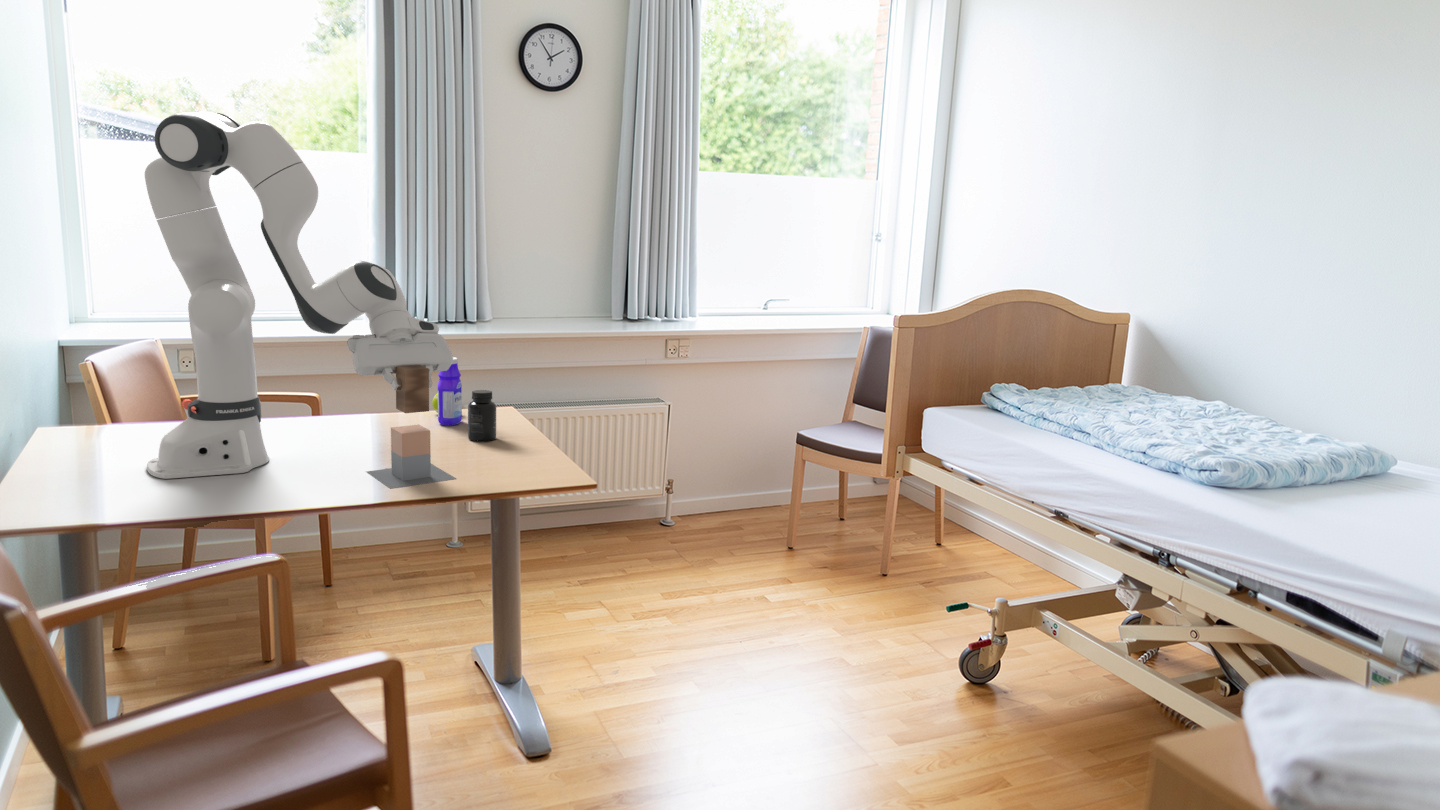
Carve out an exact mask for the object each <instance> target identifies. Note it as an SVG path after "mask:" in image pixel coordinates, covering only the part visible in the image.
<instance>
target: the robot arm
mask: <svg viewBox="0 0 1440 810" xmlns="http://www.w3.org/2000/svg"><path fill="white" fill-rule="evenodd" d="M154 144H155V148H156V150H157V153H158V154H159V155H160V157H158V158H156V159H154V160H153V161H152V162H150V163H149V164H148V165H147V167H146V168H145V170H144V180H145V185H146V186H145V187H146V191H147V195H148V198H149V201H150V202H149V203H150V206H151V209H152V211H153V214H154V217H155V219H156V222H157V225H158V227H159V230H160V232H161V235H162V237H163V239H164V242H165V244H166V248H167V250H168V252H169V255H170V257H171V260H172V261H173V262H174V264H175V266H176V267H177V269H178V271H179V273H180V275H181V277H182V279H183V281H184V282H185V284H186V286H187V288H188V291H189V293H190V297H189V300H188V305H187V306H188V307H187V310H188V318H189V319H188V320H189V328H190V333H191V334H190V335H191V341H192V348H193V352H194V360H195V370H196V372H195V373H196V383H197V384H196V385H197V398H195V399H194V400H193V401H192V400H191V399H189V398H186V399H183V400H182V402H181V407H183V408H184V410H187V416H188V417H187V418H186V419H185V420H184V421H182V422H180V423H179V424H178V425H176V427H174V428H172V430H170V431H168V432H167V433H166V434H164V436H163V437H162V439H161V441H160V443H159V448H158V457H157V458H153V459H151V460H149V461H148V462H147V464H146V470H147V472H148V473H149V475H151V476H152V477H156V478H157V479H158V478H160V479H163V480H164V479H166V480H167V479H178V478H179V479H180V478H193V477H207V476H218V475H230V474H231V475H232V474H243V473H244V474H245V473H247V472H250V471H251V470H252V469H255V468H258V467H261V466H263V465H265V464H267V463H268V462H269V461H270V457H269V456H268V455H269V454H268V453H267V450H266V447H265V442H264V438H263V434H262V429H261V422H262V404H261V397H260V396H259V395H258V381H257V380H258V379H257V363H256V362H257V361H256V355H255V353H256V352H255V347H254V346H255V345H254V337H253V327H252V325H253V324H252V317H253V315H254V312H255V309H256V299H255V296H254V294H253V291H252V289H251V285H250V283H249V282H248V279H247V277H246V275H245V273H244V271H243V268H242V265H241V263H240V261H239V259H238V257H237V255H236V253H235V251H234V248H233V246H232V243H231V240H230V239H229V236H228V233H227V231H226V228H225V225H224V222H223V220H222V218H221V215H220V212H219V209H218V207H217V204H216V202H215V199H214V197H213V195H212V192H211V189H210V188H211V187H210V178H211V177H212V176H218V175H220V174H221V173H223V172H224V171H226V170H228V169H229V168H233V169H235V170H236V171H237V172H238V173H240V174H241V175H242V176H243V178H244V179H245V181H246V182H247V183H248V184H249V186H250V187H251V189H252V190H253V192H254V193H255V194H256V196H257V197H258V198H257V199H258V200H259V203H260V206H261V209H262V217H263V218H262V220H261V222H260V228H261V232H262V235H263V237H264V240H265V242H266V244H267V247H268V248H269V251H270V252H271V255H272V256H273V259H274V260H275V262H276V264H277V266H278V269H279V270H280V272H281V273H282V276H283V278H284V280H285V281H286V283H287V286H288V287H289V289H290V291H291V293H292V296H293V297H294V301H295V303H296V306H297V310H298V311H299V314H300V316H301V318H302V319H303V321H304V323H305V324H306V326H307V327H308V328H310V329H311V330H312V331H315V332H318V333H323V334H329V335H330V334H331V335H334V334H336V333H338V332H340V330H342V329H344V327H346V326H347V325H348V324H349V323H351V322H353V321H354V320H355V319H357V318H358V317H360V316H362V315H365V316H366V318H368V320H369V330H370V332H371V334H364V335H363V334H362V335H360V334H356V335H352V337H349V338H348V339H347V341H346V342H347V347H348V350H349V351H350V353H351V354H352V356H351V357H352V362H353V363H352V364H353V367H354V371H355V374H358V375H359V376H361V377H368V376H379V375H380V376H382V378H383V379H384V380H385V381H386V382H387V383H389V384H390V385H391V388H392V390H393V391H396V390H401V388H402V383H401V379H396V376H394V375H396V367H400V366H417V365H421V366H423V367H426V368H429V389H430V388H431V389H432V386H433V385H434V384H433V379H432V375H433V372H440V371H447V370H448V369H449V368H450V366H451V364H452V362H453V357H454V356H453V353H452V351H451V348H450V346H449V345H448V342H447V340H446V339H445V338H444V337H443V335H441V334H439V330H440V327H439V326H438V324H437V323H435V322H431V321H427V320H426V321H425V320H422V319H419V318H416V317H413V316H412V314H411V313H410V311H408V310H407V301H406V299H405V295H404V293H403V290H402V288H401V287H400V285H399V282H398V281H397V278H396V277H395V276H394V275H393V273H392V272H391V271H390V270H389V269H387V268H385V267H383V266H380V265H377V264H375V263H372V262H369V261H365V260H357V261H355V262H353V263H352V262H351V264H349V265H347V266H346V267H344V268H342V269H341V270H339V271H337V273H335V274H334V275H332V276H330V277H328V278H326V279H325V280H324V281H322V282H321V283H318V284H317V283H316V282H315V280H314V278H313V276H312V274H311V272H310V270H309V268H308V266H307V264H306V263H305V262H306V261H305V260H304V258H303V256H302V254H301V252H300V250H299V247H298V242H299V241H298V240H299V237H300V236H299V235H300V233H301V231H302V229H303V228H304V226H305V225H306V223H307V221H308V220H309V218H310V217H311V216H312V214H313V212H314V211H315V209H316V206H317V202H318V198H319V188H318V184H317V181H316V179H315V178H314V176H313V174H312V172H311V171H310V170H309V168H308V167H307V165H306V164H305V163H304V161H303V160H302V158H301V156H300V155H299V154H298V153H297V152H296V151H295V150H294V148H293V146H291V144H290V143H289V142H288V141H287V140H286V139H285V138H284V136H283V135H282V134H280V132H279V131H278V130H277V129H276V128H275V127H273V126H272V125H271V124H269V123H267V122H264V121H251V122H247V123H244V124H242V125H241V124H240V123H239V122H238V121H237V120H236V119H234V118H232V117H230V116H228V115H226V114H224V113H219V112H211V111H210V112H208V111H197V110H196V111H192V112H178V113H174V114H172V115H169V116H168V117H166V118H165V119H163V120H162V121H161V122H160V123H159V124H158V126H157V127H156V130H155V132H154Z"/></svg>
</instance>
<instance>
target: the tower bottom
mask: <svg viewBox="0 0 1440 810" xmlns="http://www.w3.org/2000/svg"><path fill="white" fill-rule="evenodd" d="M390 455H391V459H390V460H391V461H390V462H391V463H390V464H391V468H392V474H393V475H395V476H396V477H398V478H399V479H401V480H402V481H405V480H412V479H418V478H425V477H431V464H432V463H431V453H430V454H424V455H416V456H409V457H401V456H399V455H397V454H396V453H394V452H393V451H391V450H390Z"/></svg>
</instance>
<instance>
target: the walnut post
mask: <svg viewBox="0 0 1440 810" xmlns="http://www.w3.org/2000/svg"><path fill="white" fill-rule="evenodd" d="M395 378H396V379H401V383H402V388H401V390H395V409H396V410H398V411H400V412H402V413H404V414H412V413H425V412H430V388H429V368H426V367H423V366H421V365H417V366H400V367H396V374H395Z"/></svg>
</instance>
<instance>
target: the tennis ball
mask: <svg viewBox="0 0 1440 810" xmlns="http://www.w3.org/2000/svg"><path fill="white" fill-rule="evenodd" d="M432 407H433V409H434V410H435V412H436V414H438V392H437V393H436V394H435V395H434V396H433V398H432Z"/></svg>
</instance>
